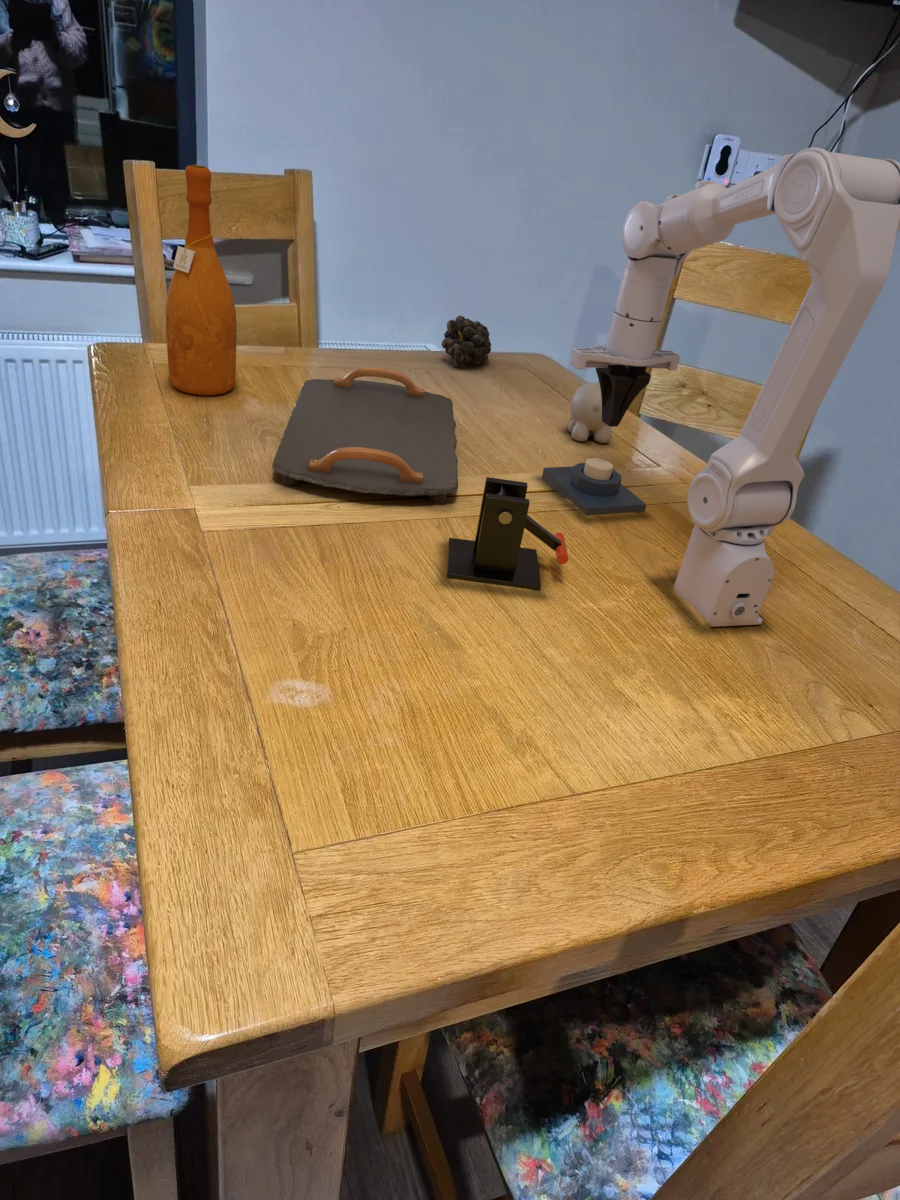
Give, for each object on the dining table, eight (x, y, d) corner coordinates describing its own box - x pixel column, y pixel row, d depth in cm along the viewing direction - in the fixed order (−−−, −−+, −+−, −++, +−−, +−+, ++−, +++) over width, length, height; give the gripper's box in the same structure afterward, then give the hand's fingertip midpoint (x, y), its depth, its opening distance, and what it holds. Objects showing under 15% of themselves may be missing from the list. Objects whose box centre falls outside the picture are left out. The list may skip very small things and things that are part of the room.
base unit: (643, 515, 109) (650, 491, 107) (584, 520, 105) (591, 495, 103) (596, 476, 118) (602, 453, 116) (541, 478, 114) (546, 455, 112)
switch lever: (555, 547, 92) (570, 532, 91) (559, 570, 88) (574, 555, 87) (486, 495, 89) (501, 479, 88) (487, 516, 85) (502, 499, 84)
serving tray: (305, 390, 130) (307, 350, 127) (451, 409, 132) (457, 370, 129) (264, 499, 97) (265, 450, 94) (458, 522, 100) (466, 475, 96)
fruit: (518, 342, 157) (484, 332, 144) (495, 379, 161) (459, 374, 147) (485, 317, 159) (448, 305, 146) (462, 354, 163) (424, 346, 150)
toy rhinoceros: (600, 420, 138) (612, 370, 133) (613, 448, 127) (627, 395, 123) (557, 415, 137) (568, 364, 132) (567, 443, 127) (579, 389, 122)
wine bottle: (167, 374, 127) (157, 155, 111) (233, 376, 131) (233, 164, 114) (169, 397, 120) (159, 166, 104) (239, 399, 123) (240, 175, 107)
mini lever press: (534, 558, 95) (552, 480, 89) (538, 595, 88) (558, 513, 83) (447, 546, 94) (460, 467, 89) (445, 583, 87) (459, 499, 82)
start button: (615, 481, 109) (618, 468, 108) (591, 482, 108) (594, 469, 107) (600, 469, 112) (604, 457, 111) (578, 470, 110) (581, 458, 109)
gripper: (667, 308, 104) (639, 411, 112) (568, 303, 99) (545, 412, 106) (701, 324, 99) (669, 431, 106) (599, 320, 93) (572, 434, 101)
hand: (609, 423), depth 106 cm, fingers closed
